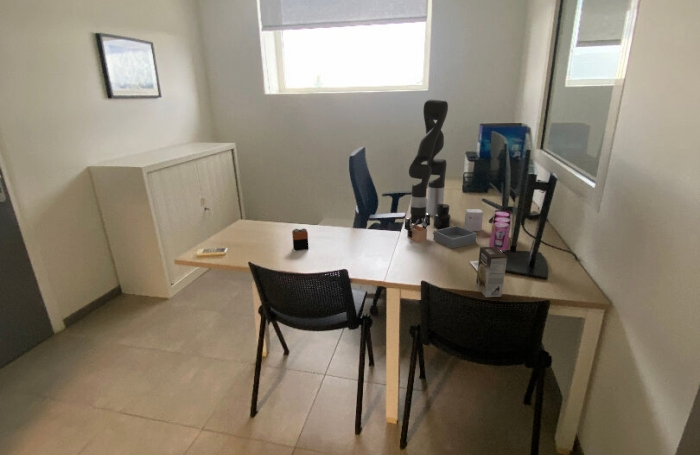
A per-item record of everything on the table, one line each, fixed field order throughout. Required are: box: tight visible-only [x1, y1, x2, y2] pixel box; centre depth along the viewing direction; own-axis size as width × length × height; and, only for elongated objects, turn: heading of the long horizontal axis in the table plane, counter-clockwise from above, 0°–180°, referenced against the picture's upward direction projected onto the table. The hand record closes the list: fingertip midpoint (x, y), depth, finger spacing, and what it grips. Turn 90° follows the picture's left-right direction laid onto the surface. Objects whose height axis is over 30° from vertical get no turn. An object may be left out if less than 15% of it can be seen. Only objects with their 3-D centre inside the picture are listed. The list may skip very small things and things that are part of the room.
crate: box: [432, 225, 478, 249], centre depth 187 cm, size 13×15×5 cm
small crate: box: [406, 225, 428, 244], centre depth 190 cm, size 9×5×6 cm, turn 30°
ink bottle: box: [432, 203, 451, 230], centre depth 205 cm, size 10×9×12 cm
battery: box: [291, 228, 309, 252], centre depth 179 cm, size 4×7×10 cm, turn 105°
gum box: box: [488, 209, 512, 251], centre depth 181 cm, size 24×8×14 cm, turn 157°
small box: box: [463, 208, 484, 232], centre depth 201 cm, size 8×6×10 cm
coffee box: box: [475, 246, 508, 298], centre depth 138 cm, size 9×6×16 cm
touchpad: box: [469, 260, 479, 272], centre depth 157 cm, size 8×15×2 cm, turn 3°
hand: (416, 235), depth 190 cm, fingers open, 8 cm apart
